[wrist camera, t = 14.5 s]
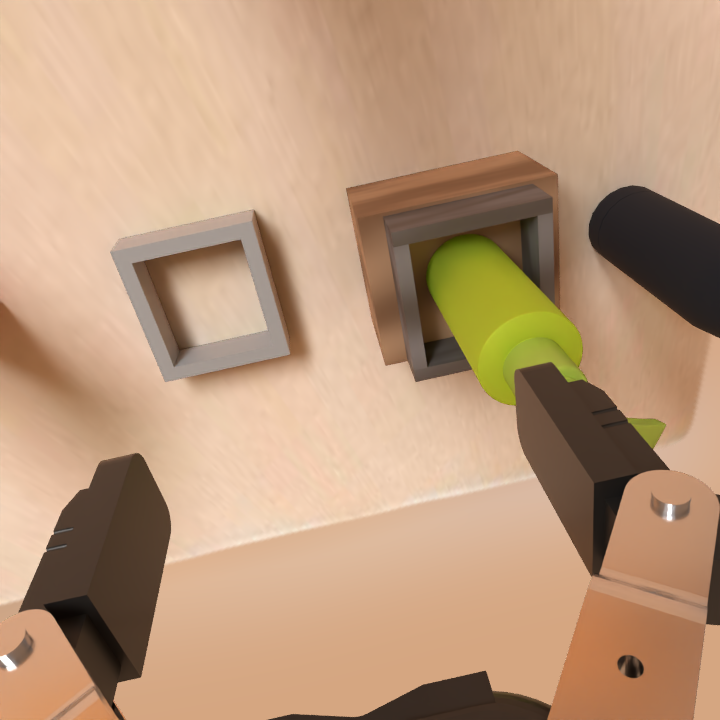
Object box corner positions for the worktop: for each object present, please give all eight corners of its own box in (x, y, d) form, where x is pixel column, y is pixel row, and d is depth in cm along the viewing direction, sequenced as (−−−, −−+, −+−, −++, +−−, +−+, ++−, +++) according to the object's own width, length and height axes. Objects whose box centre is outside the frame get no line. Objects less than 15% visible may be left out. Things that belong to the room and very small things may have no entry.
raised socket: (346, 188, 48) (363, 235, 38) (518, 150, 48) (579, 187, 38) (372, 320, 54) (392, 389, 44) (524, 286, 54) (579, 348, 44)
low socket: (119, 239, 48) (110, 252, 45) (253, 209, 48) (251, 220, 46) (170, 364, 54) (165, 382, 52) (289, 338, 54) (290, 354, 52)
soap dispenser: (502, 317, 46) (636, 495, 29) (416, 303, 45) (504, 482, 28) (529, 244, 44) (694, 393, 26) (438, 226, 42) (551, 372, 25)
